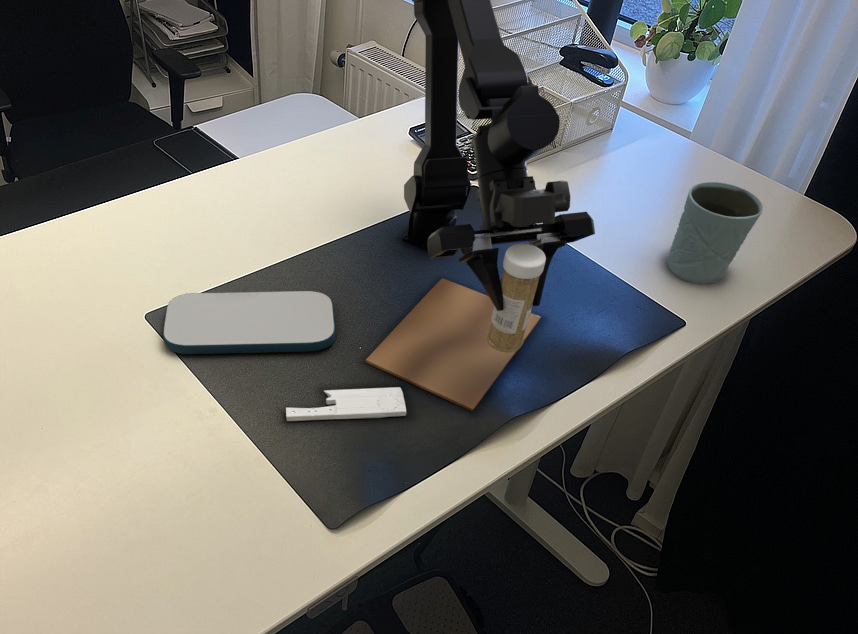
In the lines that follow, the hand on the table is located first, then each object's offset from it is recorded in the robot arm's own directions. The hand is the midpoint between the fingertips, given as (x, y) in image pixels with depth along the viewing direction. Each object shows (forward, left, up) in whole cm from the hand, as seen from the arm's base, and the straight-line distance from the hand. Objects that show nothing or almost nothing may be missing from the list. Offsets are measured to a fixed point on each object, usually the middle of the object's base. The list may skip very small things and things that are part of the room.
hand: (518, 308), depth 89 cm
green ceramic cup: (+14, +42, -13) cm, 46 cm away
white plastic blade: (-15, -14, -13) cm, 24 cm away
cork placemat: (-9, +5, -13) cm, 17 cm away
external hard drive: (-34, -9, -13) cm, 37 cm away
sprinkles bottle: (-1, +1, -7) cm, 7 cm away
